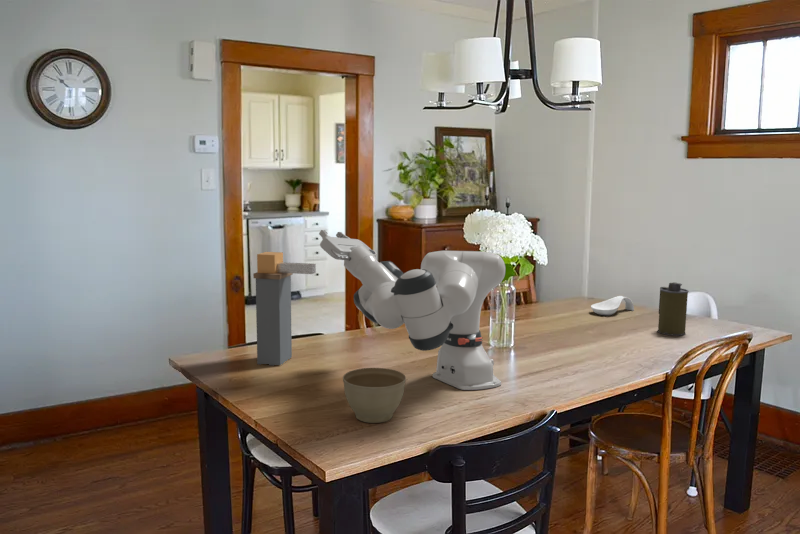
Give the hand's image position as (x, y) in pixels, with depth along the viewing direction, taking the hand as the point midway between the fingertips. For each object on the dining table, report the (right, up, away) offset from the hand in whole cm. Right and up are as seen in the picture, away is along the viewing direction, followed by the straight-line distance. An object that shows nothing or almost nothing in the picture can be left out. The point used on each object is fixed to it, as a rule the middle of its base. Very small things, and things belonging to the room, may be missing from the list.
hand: (329, 232), depth 221 cm
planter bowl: (+16, -50, -42) cm, 67 cm away
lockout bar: (-14, -13, +3) cm, 19 cm away
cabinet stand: (-19, -42, +8) cm, 47 cm away
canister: (+130, -37, +54) cm, 146 cm away
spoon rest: (+119, -32, +91) cm, 153 cm away
